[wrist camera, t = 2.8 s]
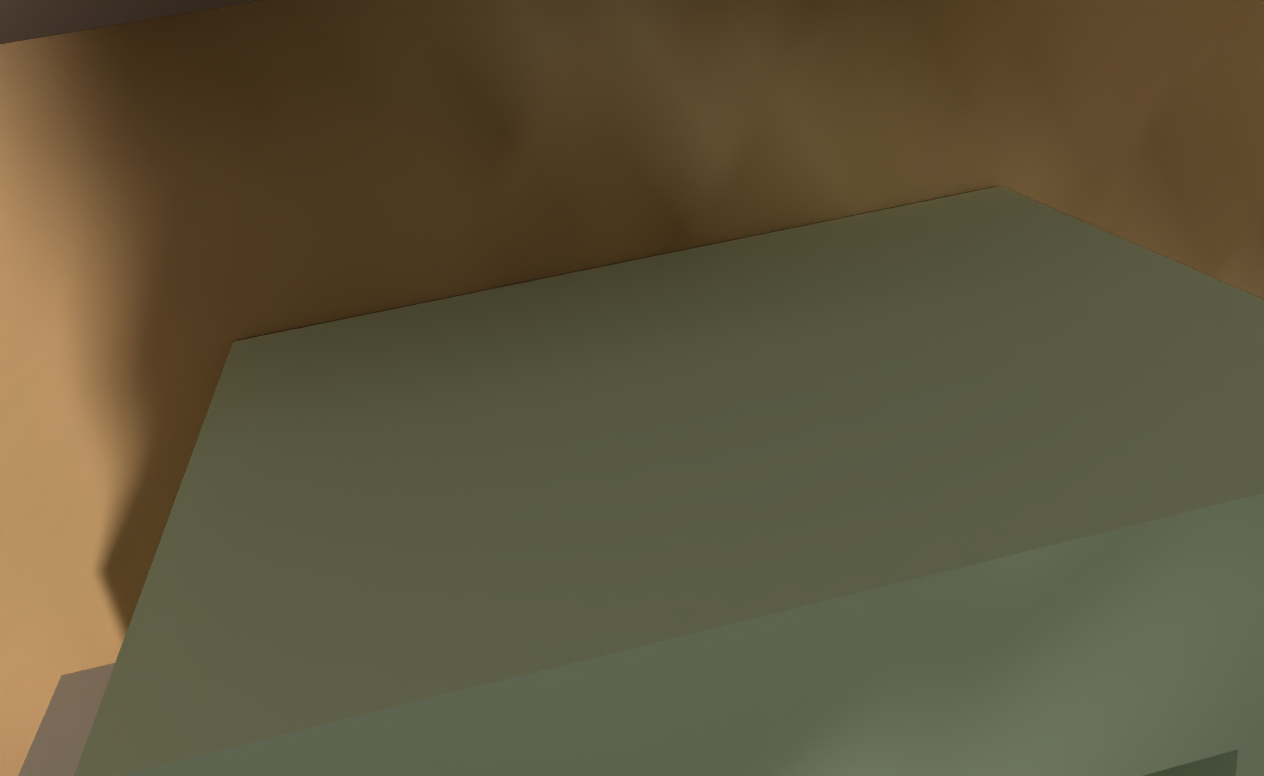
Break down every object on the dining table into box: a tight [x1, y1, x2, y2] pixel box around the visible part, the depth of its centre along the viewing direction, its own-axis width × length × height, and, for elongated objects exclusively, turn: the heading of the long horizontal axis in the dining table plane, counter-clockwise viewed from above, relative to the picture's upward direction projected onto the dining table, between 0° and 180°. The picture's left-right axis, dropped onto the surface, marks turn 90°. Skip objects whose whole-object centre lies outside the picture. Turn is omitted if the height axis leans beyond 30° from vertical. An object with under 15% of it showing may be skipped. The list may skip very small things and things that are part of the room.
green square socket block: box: [74, 186, 1264, 776], centre depth 12 cm, size 9×9×7 cm
